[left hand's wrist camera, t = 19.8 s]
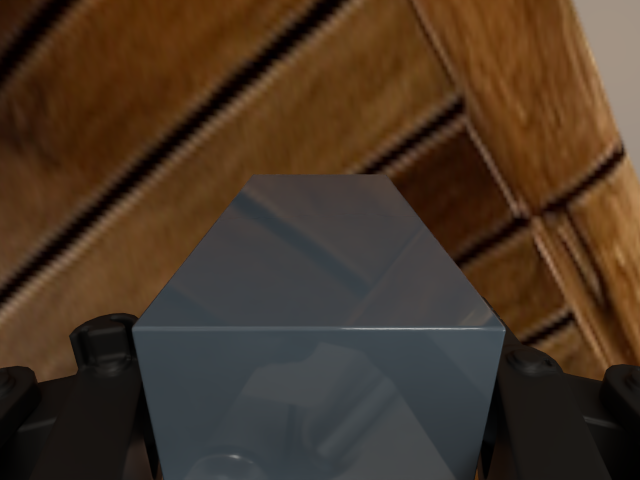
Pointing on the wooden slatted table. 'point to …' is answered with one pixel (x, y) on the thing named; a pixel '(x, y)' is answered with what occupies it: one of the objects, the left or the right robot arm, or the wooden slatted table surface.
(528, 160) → the wooden slatted table surface
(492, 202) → the wooden slatted table surface
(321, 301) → the brick
